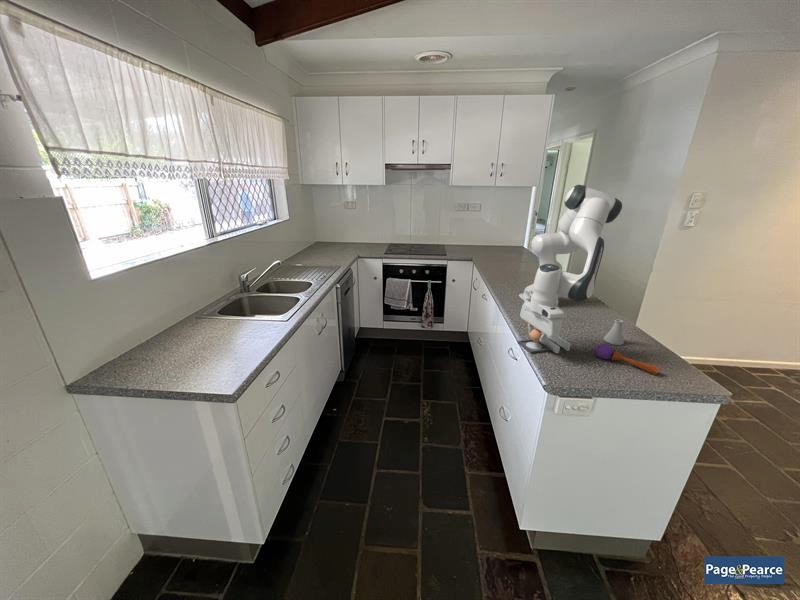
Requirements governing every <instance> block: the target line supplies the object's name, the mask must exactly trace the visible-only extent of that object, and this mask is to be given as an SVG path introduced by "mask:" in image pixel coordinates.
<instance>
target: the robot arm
mask: <svg viewBox="0 0 800 600" xmlns="http://www.w3.org/2000/svg"><path fill="white" fill-rule="evenodd" d="M564 206H565V207H566V208H567V209H566V211H565V212H564V213H563V215H562V216H561V217H560V219H559V220H558V223H557V225H558V229H559V231H558V232H544V233H540V234H536V235H535V236H534V237H532V240H531V243H530V247H531V249H532V251H533V253H534V254H536V256H537V258H538V262H539V266H538V269H537V270H536V273H535V277H534V278H533V280H534V281H533V283H532V284H530V285H527V286H526V287H525V288H524V291H523V293H519V294H518V296H519V297H520V299H522V301H524V302H523V304H522V306H521V310H520V313H519V316H520V318H521V320H523V321H525V322H526V323H527V327H528V328H527V329H528V334H529V335H530V332H531V331H532V330H534V329H538V330H540V331H541V332H542V333H541V334H542V336H539V339H538V340H540V341H541V342H543V341H545V337H546V336H549V337H551V338H553V337H558V336H559V337H560V335H561V332H562V327H563V320H562V318H564V316H565V313H564V311H563V310H562V309H561V308H560V307H559V302H560V301H559V296H560V297H562V298H566V299H568V300H570V301H574V302H576V303H578V304H579V303H582V302H586V301H587V300H589V299H591V297H592V296H593V294H594V291H595V286H596V285H595V283H596V280H597V276H598V272H599V269H600V265H601V263H602V258H603V254H604V250H605V240H604V238H602V237H601V236H602V231H603V229H604V227H605V224H610V223H612V222H614V221H615V219H616V218H618V217H619V215H620V214H621V211H622V209H623V202H622V201H621V200H620V199H618V198H617V197H613V196H612V195H610V194H608V193H606V192H604V191H601V190H598V189H595V188H591V187H587V186H586V185H583V184H576V185H574V186H573V187H572V188H571V189H569V190H568V192H567V193H566V196H565V198H564ZM580 248H581V249H582V250H584V251H585V252H586V253H587V258H586V261H585V264H584V267H583V271H582V273H580V274H577V273H572V272H568V271H565V270H563V266H562V264H561V263H560V262H559V261H557V255H567V254H571V253H575V252H577V251H578V250H579V249H580ZM546 338H547V337H546Z"/></svg>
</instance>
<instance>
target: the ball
mask: <svg viewBox="0 0 800 600" xmlns="http://www.w3.org/2000/svg"><path fill="white" fill-rule="evenodd" d="M541 333H542V332H541V331H540V330H538V329H537V328H534V330H532V331H531V332H530V334H529V337H530V339H532V340H533V341H536V342H537V341H540V340H538V339H539V336H542V334H541Z"/></svg>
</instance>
